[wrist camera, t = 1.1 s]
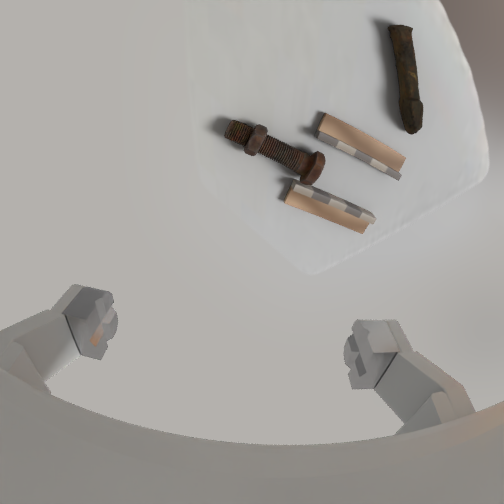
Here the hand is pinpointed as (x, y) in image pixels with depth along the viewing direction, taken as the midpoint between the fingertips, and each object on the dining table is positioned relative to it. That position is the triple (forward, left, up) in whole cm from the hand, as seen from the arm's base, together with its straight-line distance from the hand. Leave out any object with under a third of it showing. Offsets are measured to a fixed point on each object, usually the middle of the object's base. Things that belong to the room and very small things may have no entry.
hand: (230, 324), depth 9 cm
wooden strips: (+1, +18, -38) cm, 41 cm away
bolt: (+1, +4, -38) cm, 38 cm away
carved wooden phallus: (-19, +20, -38) cm, 47 cm away
